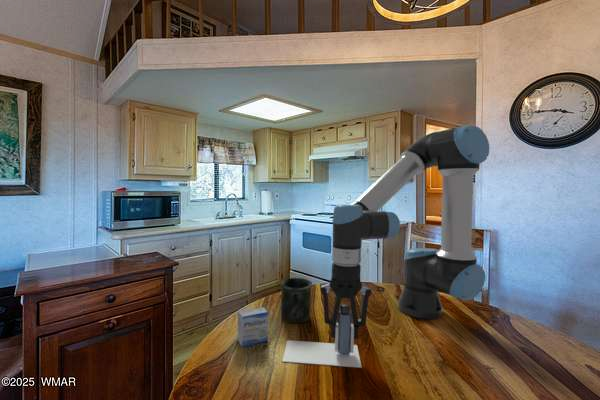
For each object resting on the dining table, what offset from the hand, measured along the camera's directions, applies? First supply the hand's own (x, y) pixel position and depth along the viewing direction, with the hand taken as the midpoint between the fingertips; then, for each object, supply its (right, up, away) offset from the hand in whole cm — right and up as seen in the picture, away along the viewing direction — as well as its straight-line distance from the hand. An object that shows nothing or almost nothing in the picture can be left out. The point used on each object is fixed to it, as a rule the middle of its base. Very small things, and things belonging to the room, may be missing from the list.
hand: (343, 349), depth 76 cm
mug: (-13, -1, +20) cm, 24 cm away
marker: (0, -1, 0) cm, 1 cm away
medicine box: (-25, -1, +6) cm, 26 cm away
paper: (-6, -1, +1) cm, 6 cm away
